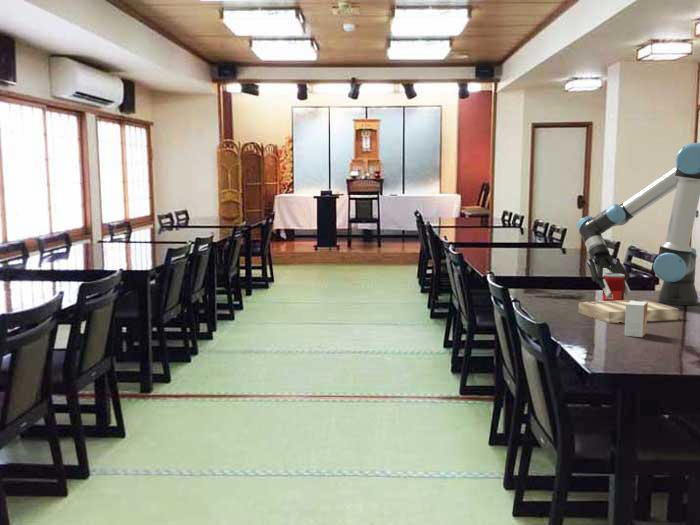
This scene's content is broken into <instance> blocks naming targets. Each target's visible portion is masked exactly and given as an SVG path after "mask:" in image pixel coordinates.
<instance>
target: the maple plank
mask: <svg viewBox="0 0 700 525" xmlns="http://www.w3.org/2000/svg"><path fill="white" fill-rule="evenodd" d="M630 301H639V302H648V306H647V322H655V321H656V322H658V321H659V322H661V321H678V320H679V310H680V309H679V308H677V307H674V306H669V305H667V304H663V303H660V302H654V301H650V300H647V299H628V300H625V299H624V300H622V301H603V300H602V301H583V302H582V301H581V302H580V301H579V302H578V313H579V314H581V315H584V316H587V317H589V318H592V317H593V319H595V318H596V319H595V320H598V319H599V320H598V321H601V320H602V321H601V322H604V321H605V323H608V324H618V323H619V322H622V323H625V313H626V304H627V303H629V302H630Z"/></svg>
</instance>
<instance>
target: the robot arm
mask: <svg viewBox="0 0 700 525" xmlns="http://www.w3.org/2000/svg"><path fill="white" fill-rule="evenodd" d="M675 156H676V157H675V166H674V167H672V168H671V169H670V170H668V171H666V172H665V173H663V174H662V175H661V176H660V177H658V178H657V179H655V180H654V181H652V182H650V183H649V184H648V185H647V186H645V187H643V188H642V189H640V190H639V191H638V192H636V193H635V194H634V195H632V196H630V197H629V198H627V199H626V200H625V201H623V202H621V203H620V204H617V203H613V204H612V205H610V206H608V207H606V208H605V209H604V210H602V211H601V212H600V213H598V214H597V215H596V216H594V217H593V216H589V215H587V216H585V217H582V218H580V219H579V220H578V221H577V224H576V226H577V229H578V232H579V235H580V237H581V239H582V241H583V244H584V245H585V248H586V250H587V252H588V254H589V257H590V258H589V259H588V260H587V261H586V264H587V266H588V268H589V272H590V276H591V280H592V282H596V284H599V287H600V288H601V289H602V291H603V290H604V293H605V295H606V296H609V294H610V293H611V291H610V289H609V287H608V285H607V283H606V280H605V279H603V278H604V272H603V271H604V269H607V270H609V271H610V273H619V274H624V275H625V287H624V296H626V297H627V296H629V294H630V293H631V289H630V287H629V282H628V279H629V278H630V274H629V273H628V272H627V270H626V269H625V267H624V266H623V264H622V263H621V261H620V258H619V257H616V258H613V257H612V256H611V253H610V250H609V247H608V246H607V243H606V242H605V239H604V238H603V235H602V234H604V233H605V232H607V231H608V230H610V229H611V228H613V227H617V226H624V225H626V224H628V222H629V221H630V220H632V219H633V218H634V217H636V216H637V215H638V214H641V212H643V211H644V210H646V209H647V208H649V207H651V206H652V205H653V204H656V203H657V202H658V201H660V200H661V199H663V198H664V197H666V196H667V195H668V194H671V193H672V192H673V191H675V193H674V199H673V203H672V208H671V212H670V217H669V223H668V228H667V232H666V237H665V241H664V242H663V243H661V244H660V245H659V250H658V254H657V257H656V258H655V259H654V262H653V264H652V265H653V271H654V273H655V276H657V277H658V279H659V280H661V281H663V282H662V286H661V287H660V291H659V294H658V296H657V303H660V304H664V305H675V306H696V305H698V304H699V297H698V293H697V289H696V286H695V282H696V281H695V280H696V263H697V258H698V257H697V256H698V255H697V250H696V249H695V248H694V247H690V244H691V242H690V241H691V238H692V234H693V233H692V232H693V228H694V224H695V220H696V215H697V210H698V206H699V202H700V142H691V143H688V144H685V145H684V146H682V147H681V148H680V149H679V150H678V152H677V154H676V155H675Z"/></svg>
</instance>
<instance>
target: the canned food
mask: <svg viewBox="0 0 700 525" xmlns="http://www.w3.org/2000/svg"><path fill="white" fill-rule="evenodd" d="M603 279H605V280H606V283H607V285H608V287H609V289H610V291H611V293H610V294H609V296H606V295H605V293H604V290H603V289H602V298H601V299H602V301H622V300H625V293H624V287H625V275H624V274H619V273H612V272H605V273H603ZM603 279H602V280H603Z"/></svg>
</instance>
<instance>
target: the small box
mask: <svg viewBox="0 0 700 525" xmlns="http://www.w3.org/2000/svg"><path fill="white" fill-rule="evenodd" d="M647 306H648V302H639V301H630V302H629V303H627V304H626V313H625V322H624V336H626V337H635V338H636V337H637V338H643V337H644V336H645V335H646V334H647V324H648V323H647V322H648V321H647Z"/></svg>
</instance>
